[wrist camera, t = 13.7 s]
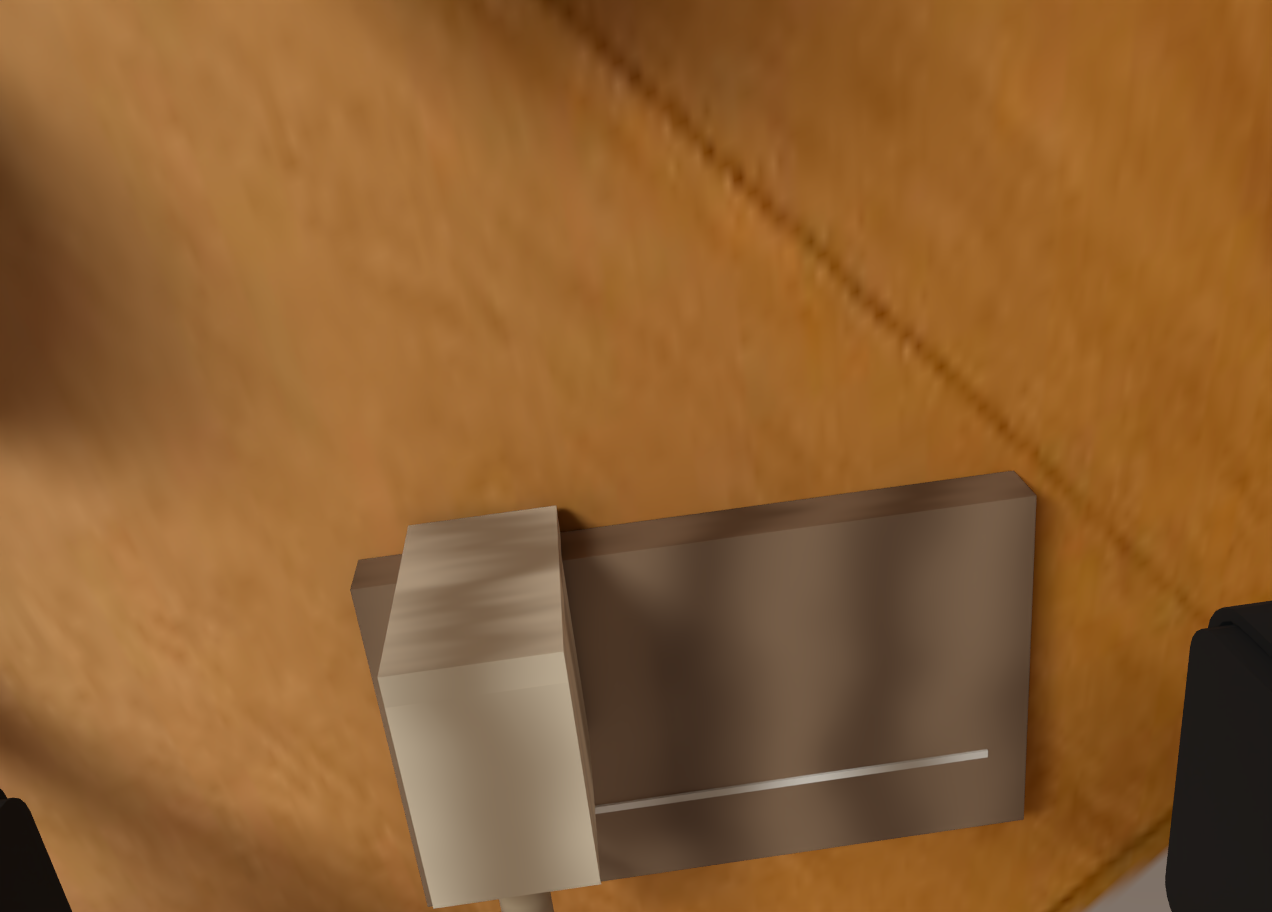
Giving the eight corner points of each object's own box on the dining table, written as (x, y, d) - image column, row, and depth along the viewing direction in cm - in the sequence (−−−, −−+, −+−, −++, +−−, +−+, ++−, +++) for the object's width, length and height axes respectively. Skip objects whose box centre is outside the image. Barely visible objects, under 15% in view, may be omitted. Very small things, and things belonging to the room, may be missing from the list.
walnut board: (1013, 470, 41) (1037, 497, 39) (1004, 784, 46) (1024, 821, 44) (358, 560, 40) (349, 591, 38) (431, 868, 46) (427, 908, 44)
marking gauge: (555, 505, 39) (563, 651, 31) (601, 801, 44) (618, 991, 36) (408, 525, 39) (377, 677, 31) (471, 820, 44) (459, 1015, 36)
